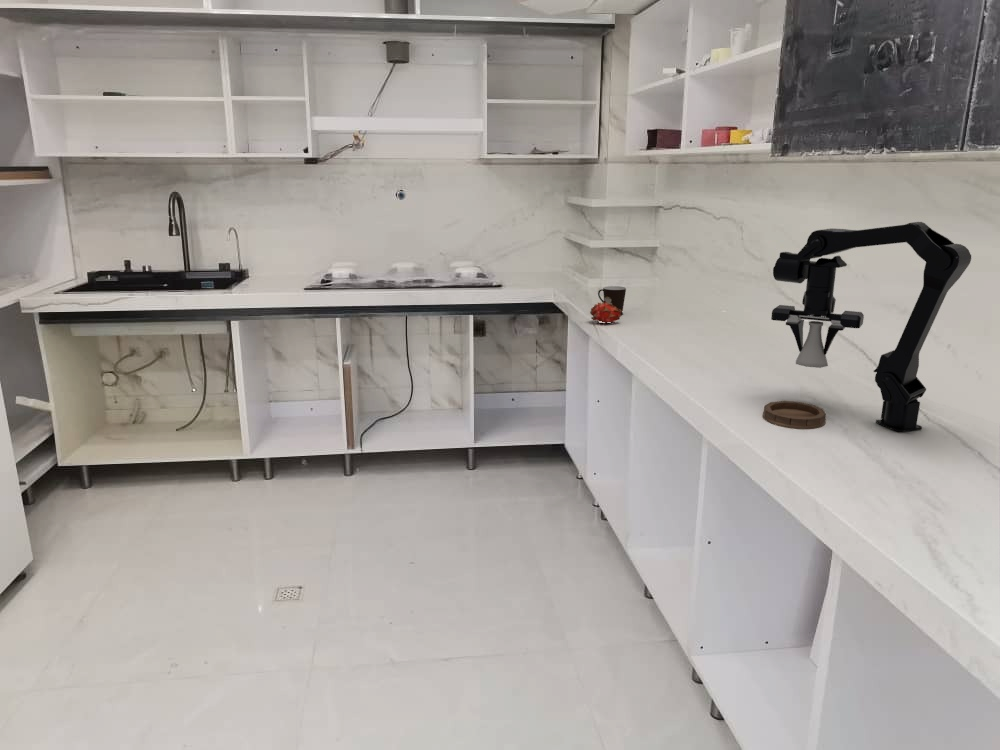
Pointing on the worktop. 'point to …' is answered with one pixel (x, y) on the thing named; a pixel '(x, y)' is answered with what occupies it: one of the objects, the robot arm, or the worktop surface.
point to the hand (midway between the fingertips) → (812, 352)
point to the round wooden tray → (794, 414)
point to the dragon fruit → (605, 312)
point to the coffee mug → (614, 296)
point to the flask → (813, 348)
